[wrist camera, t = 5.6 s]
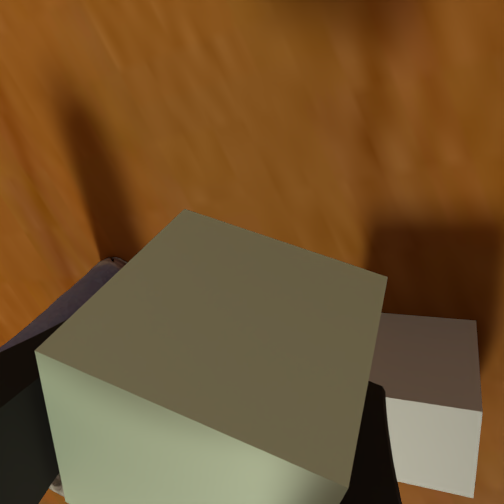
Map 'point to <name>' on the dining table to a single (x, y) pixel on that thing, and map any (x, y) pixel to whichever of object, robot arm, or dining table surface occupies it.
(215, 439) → the green cube
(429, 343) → the grey cube
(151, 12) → the dining table surface
